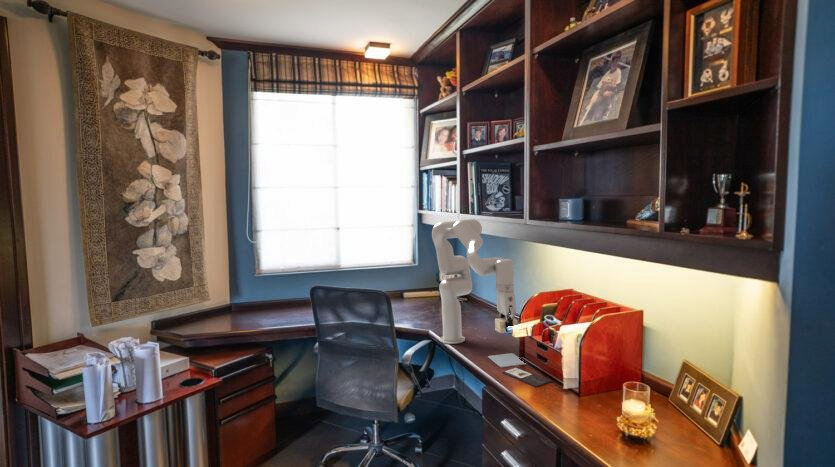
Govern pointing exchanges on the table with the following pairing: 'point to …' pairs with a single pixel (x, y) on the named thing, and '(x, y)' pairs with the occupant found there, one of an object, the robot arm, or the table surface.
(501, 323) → the maple block
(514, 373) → the chocolate bar
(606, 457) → the table surface
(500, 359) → the desk mat
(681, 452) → the table surface
